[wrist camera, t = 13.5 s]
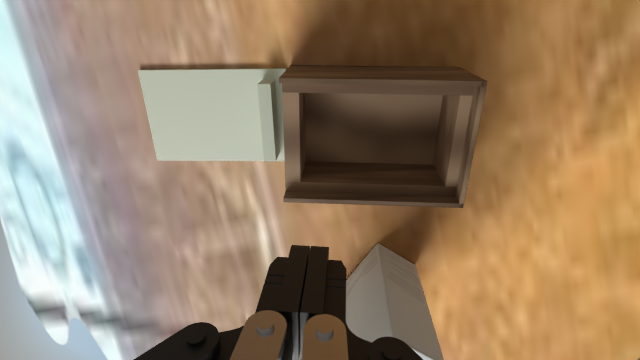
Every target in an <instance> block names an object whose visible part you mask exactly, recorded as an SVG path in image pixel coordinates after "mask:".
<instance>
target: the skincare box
mask: <svg viewBox="0 0 640 360" xmlns="http://www.w3.org/2000/svg"><path fill="white" fill-rule="evenodd" d="M346 323H347V326H348V328H349V329H350V331H351V332H352V333H353V334H355V335H356V336H358V337H359V338H361V339H364V340H367V341H369V342H373V341H375V340H376V339H378V338H381V337H395V338H398V339H400V340H402V341H404V342H405V343H406V344H407V345H408V346H410V347H411V348H412V349H413V350H414V351H415V352H416V353H417V354H418V355H419V356H420V357H421V358H422V359H423V360H444V359H443V355H442V352H441V349H440V345H439V342H438V339H437V335H436V332H435V329H434V325H433V322H432V319H431V315H430V312H429V309H428V305H427V302H426V298H425V295H424V291H423V288H422V285H421V282H420V278H419V275H418V271H417V268H416V266H415V265H414V264H413V263H411V262H409V261H408V260H406V259H404V258H403V257H401V256H399V255H398V254H396V253H394V252H392V251H391V250H389V249H387V248H386V247H384V246H382V245H381V244H379V243H377V244H376V245H375V246H374V248H373V249H372V250H371V251H370V252H369V254H368V255H367V256H366V257H365V258H364V259H363V261H362V262H361V263H360V264H359V266H358V267H357V268H356V269H355V270H354V272H353V273H352V274H351V275H350V277H349V278H348V279H347V281H346Z"/></svg>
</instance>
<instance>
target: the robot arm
mask: <svg viewBox="0 0 640 360" xmlns="http://www.w3.org/2000/svg"><path fill="white" fill-rule="evenodd" d="M328 258H329V247H317V246H311V248H310V246H299V245H292V246H291V249H290V253H289V257H288V258H287V257H277V258H276V259H275V260H274V261H273V262H272V263H271V264H270V266H269V270H268V273H267V276H266V279H265V284H264V286H263V289H262V293H261V296H260V299H259V302H258V306H257V309H256V312H255V314H253V315H252V316H250V317H249V318H248V320H247V321H246V323H245V325H244V326H242V327H240V328H237V329H234V330H230V331H225V332H220V333H219V332H218V330H217V328H216V327H215V326H213V325H212V324H209V323H204V322H199V323H194V324H191V325H189V326H187V327H185V328H183V329H182V330H180V331H178V332H177V333H175V334H174V335H172V336H171V337H169V338H167V339H166V340H164V341H163V342H161V343H159V344H158V345H156V346H155V347H153V348H151V349H150V350H148V351H147V352H145V353H144V354H142V355H140V356H139V357H137V358H136V359H134V360H299V355H301V356H300V360H423V359H422V358H421V357H420V356H419V355H418V354H417V353H416V352H415V351H414V350H413V349H412V348H411V347H410V346H408V345H407V344H406V343H405V342H404V341H402V340H400V339H398V338H395V337H381V338H378V339H376V340H375V341H373V342H369V341H367V340H364V339H361V338H359V337H358V336H356V335H355V334H353V333H352V332H351V331H350V329H349V328H348V326H347V323H346V268H345V266H344V265H343V263H342V261H337V260H328Z"/></svg>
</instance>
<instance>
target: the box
mask: <svg viewBox="0 0 640 360" xmlns="http://www.w3.org/2000/svg"><path fill="white" fill-rule="evenodd" d="M279 83H282V102H283V130H284V157H285V184H286V192H285V195H284V202H295V203H327V204H359V205H391V206H422V207H454V208H463V206H464V200H465V195H466V190H467V185H468V179H469V174H470V169H471V164H472V158H473V153H474V148H475V143H476V137H477V132H478V127H479V122H480V116H481V111H482V106H483V101H484V95H485V90H486V85H487V81H486V80H484V79H482V78H480V77H478V76H476V75H474V74H472V73H470V72H468V71H465V70H463V69H461V68H458V67H384V66H311V65H291V66H290V67H289V68H288V69H287V70H286V71H285V72H284V73H283V74H282V75H281V76H280V77H279Z"/></svg>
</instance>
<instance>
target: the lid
mask: <svg viewBox="0 0 640 360" xmlns="http://www.w3.org/2000/svg"><path fill="white" fill-rule="evenodd" d="M285 71H286V68H260V69H162V70H138V73H139V78H140V82H141V87H142V92H143V96H144V101H145V106H146V110H147V115H148V119H149V124H150V129H151V133H152V138H153V142H154V147H155V152H156V156H157V160H164V161H264V162H276V161H285V157H284V130H283V102H282V83H279V77H280V76H281V75H282V74H283V73H284V72H285Z"/></svg>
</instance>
